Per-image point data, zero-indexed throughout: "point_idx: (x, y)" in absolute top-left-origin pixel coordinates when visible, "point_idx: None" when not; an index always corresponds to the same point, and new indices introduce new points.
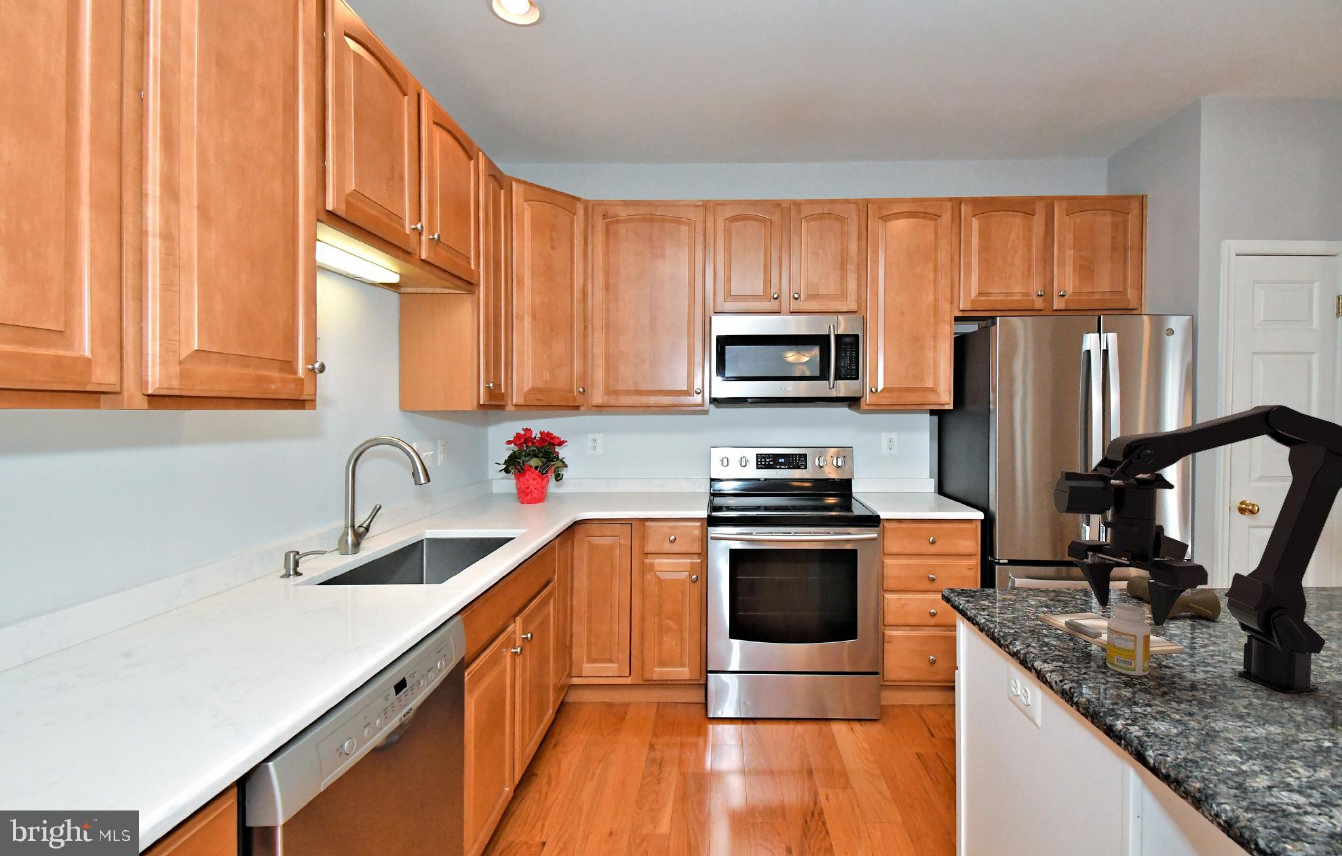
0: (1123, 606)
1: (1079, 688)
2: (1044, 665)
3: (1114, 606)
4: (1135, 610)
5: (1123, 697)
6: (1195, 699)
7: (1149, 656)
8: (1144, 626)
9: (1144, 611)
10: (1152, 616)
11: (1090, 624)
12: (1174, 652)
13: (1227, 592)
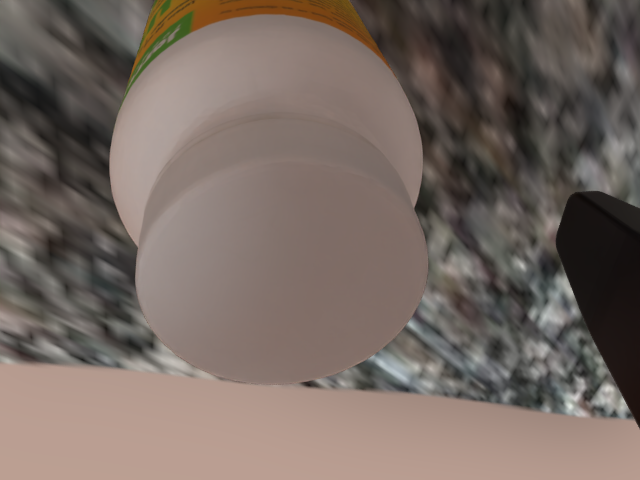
0: (231, 307)
1: (378, 375)
2: (175, 367)
3: (212, 371)
4: (372, 294)
5: (478, 298)
6: (618, 37)
7: (354, 9)
8: (403, 167)
9: (417, 227)
10: (587, 325)
11: None
12: None
13: None
